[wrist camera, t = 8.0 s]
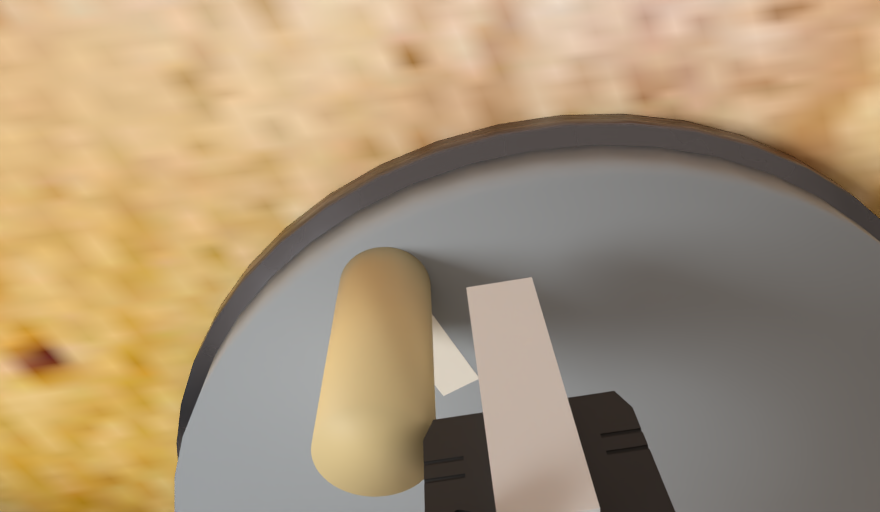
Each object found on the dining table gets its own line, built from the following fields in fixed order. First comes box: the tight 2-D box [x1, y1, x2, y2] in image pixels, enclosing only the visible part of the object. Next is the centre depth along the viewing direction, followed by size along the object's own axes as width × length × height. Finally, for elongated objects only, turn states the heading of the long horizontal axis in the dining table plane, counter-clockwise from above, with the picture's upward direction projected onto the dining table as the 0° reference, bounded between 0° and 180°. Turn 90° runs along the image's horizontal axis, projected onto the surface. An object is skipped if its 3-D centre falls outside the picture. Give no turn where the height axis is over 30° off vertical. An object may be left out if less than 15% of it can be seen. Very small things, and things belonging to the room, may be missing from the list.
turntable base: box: [177, 114, 880, 458], centre depth 26 cm, size 27×27×1 cm
